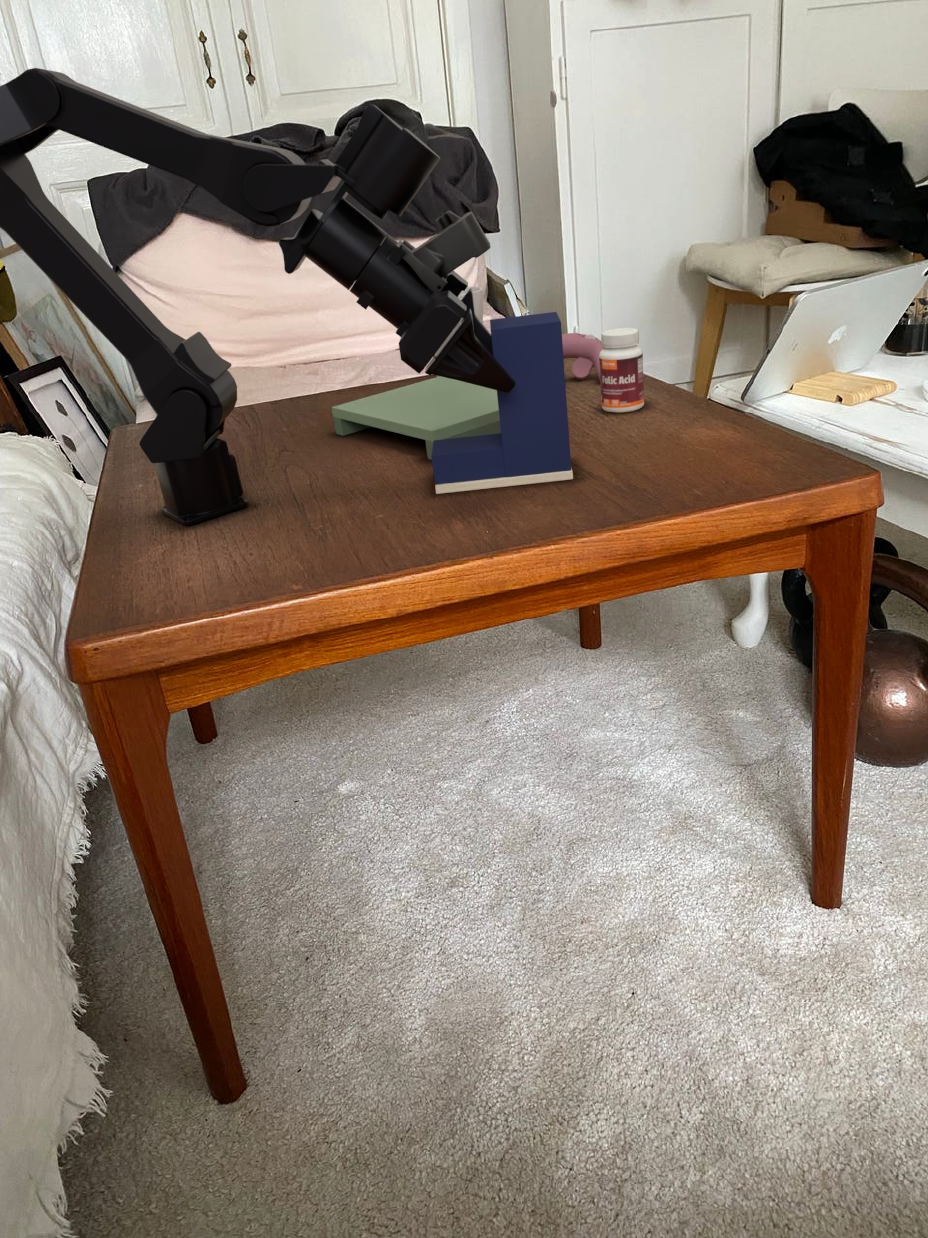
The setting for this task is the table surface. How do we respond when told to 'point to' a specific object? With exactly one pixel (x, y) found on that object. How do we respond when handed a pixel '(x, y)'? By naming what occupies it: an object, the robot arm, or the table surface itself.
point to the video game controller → (582, 353)
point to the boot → (516, 415)
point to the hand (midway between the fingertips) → (510, 376)
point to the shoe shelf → (424, 411)
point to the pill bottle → (621, 371)
